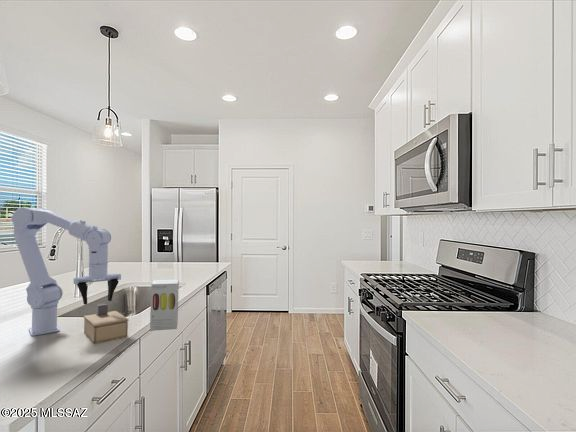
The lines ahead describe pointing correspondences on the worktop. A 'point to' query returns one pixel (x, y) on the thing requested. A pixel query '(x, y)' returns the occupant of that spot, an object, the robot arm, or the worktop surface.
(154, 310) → the supplement box
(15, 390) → the worktop surface
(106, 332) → the carton
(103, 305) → the carton lid
